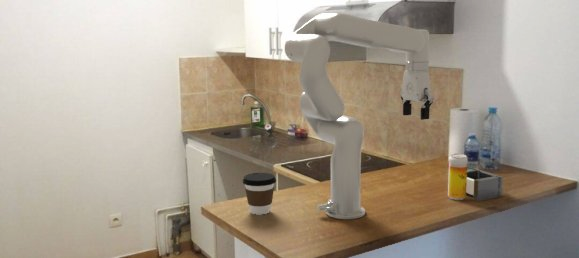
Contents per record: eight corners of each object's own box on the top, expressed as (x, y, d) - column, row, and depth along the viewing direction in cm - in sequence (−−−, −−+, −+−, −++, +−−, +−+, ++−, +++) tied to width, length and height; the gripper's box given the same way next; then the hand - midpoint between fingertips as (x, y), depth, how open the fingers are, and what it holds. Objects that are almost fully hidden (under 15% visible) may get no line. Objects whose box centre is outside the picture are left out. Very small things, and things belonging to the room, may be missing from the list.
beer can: (466, 200, 189) (468, 158, 187) (448, 200, 191) (449, 157, 188) (464, 195, 195) (466, 154, 192) (447, 194, 196) (448, 153, 194)
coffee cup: (239, 209, 185) (238, 174, 183) (270, 204, 189) (269, 170, 187) (249, 219, 175) (248, 182, 173) (281, 214, 179) (281, 178, 177)
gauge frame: (477, 201, 189) (478, 180, 188) (453, 191, 200) (454, 171, 198) (501, 196, 194) (502, 175, 192) (476, 187, 204) (477, 168, 203)
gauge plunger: (474, 195, 191) (475, 174, 190) (455, 188, 200) (456, 168, 199) (486, 193, 194) (487, 172, 192) (467, 186, 202) (468, 166, 201)
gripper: (392, 65, 193) (391, 114, 196) (424, 69, 177) (422, 121, 180) (410, 64, 196) (409, 112, 199) (443, 68, 180) (441, 119, 184)
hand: (415, 117), depth 190 cm, fingers open, 9 cm apart
